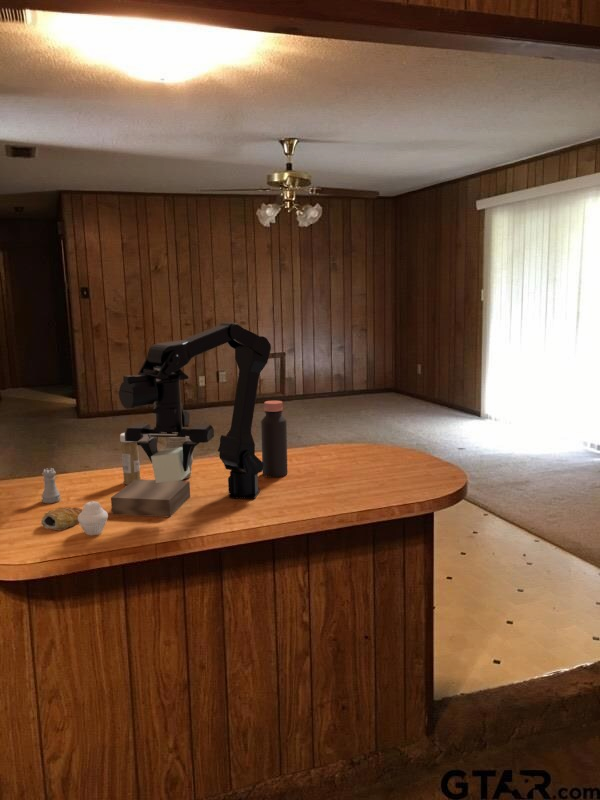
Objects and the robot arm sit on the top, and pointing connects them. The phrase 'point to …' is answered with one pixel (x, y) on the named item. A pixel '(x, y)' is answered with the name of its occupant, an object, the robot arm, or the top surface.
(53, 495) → the rook chess piece
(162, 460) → the sage cube
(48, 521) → the pastry
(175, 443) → the carving
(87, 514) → the muffin
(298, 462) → the top surface
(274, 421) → the vinegar
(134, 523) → the top surface
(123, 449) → the sprinkles bottle
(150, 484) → the walnut base
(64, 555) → the top surface
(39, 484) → the top surface
